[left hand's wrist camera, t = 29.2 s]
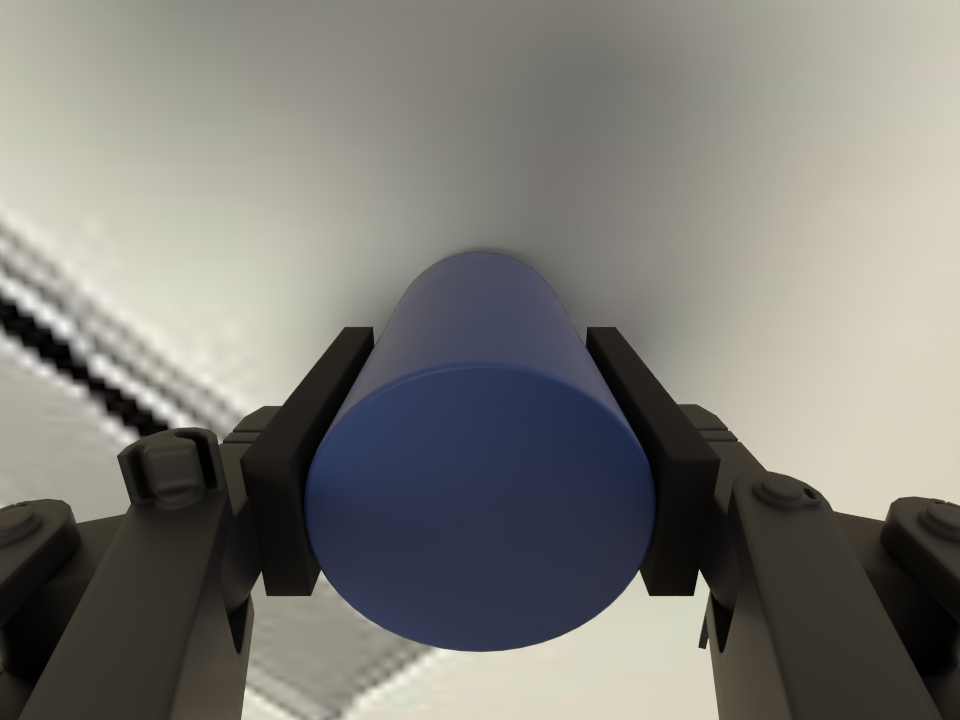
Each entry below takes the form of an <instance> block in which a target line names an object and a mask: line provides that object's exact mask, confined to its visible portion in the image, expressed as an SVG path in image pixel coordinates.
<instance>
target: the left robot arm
mask: <svg viewBox="0 0 960 720" xmlns="http://www.w3.org/2000/svg"><path fill="white" fill-rule="evenodd" d="M373 348H374V335H373V327H345V328H344V329H343V330H342V332H341V333H340V334H339V335H338V337H337V338H336V339H335V340H334V342H333V343H332V344H331V345H330V347H329V348H328V349H327V350H326V352H325V353H324V354H323V355H322V357H321V358H320V359H319V360H318V362H317V363H316V364H315V365H314V367H313V368H312V369H311V370H310V372H309V373H308V374H307V375H306V377H305V378H304V379H303V380H302V382H301V383H300V384H299V385H298V387H297V388H296V389H295V390H294V392H293V393H292V394H291V396H290V397H289V398H288V399H287V401H286V402H285V403H284V404H283V406H263V407H262V408H260V409H258V410H256V411H255V412H253V413H251V414H249V415H247V416H246V417H244V418H243V419H242V421H241V422H240V423H239V424H238V425H237V426H236V427H235V428H234V429H233V433H230V434H229V435H228V436H227V437H226V438H225V439H224V440H223V444H220V445H219V444H218V440H217V435H216V434H214V433H213V432H212V431H210V430H208V429H202V428H197V427H192V428H177V429H172V430H167V431H162V432H158V433H156V434H153V435H150V436H147V437H144V438H142V439H140V440H138V441H136V442H134V443H133V444H131V445H129V446H127V447H126V448H125V449H124V450H123V451H122V452H121V453H120V454H119V455H118V456H117V458H118V461H119V465H120V468H121V471H122V474H123V478H124V481H125V484H126V488H127V491H128V494H129V498H130V501H131V505H130V507H129V509H128V511H127V513H126V514H123V515H118V516H113V517H108V518H103V519H97V520H92V521H87V522H82V523H77V524H76V521H75V518H74V515H73V512H72V510H71V507H70V505H68V504H67V503H65V502H64V501H62V500H54V499H42V500H35V501H25V502H20V503H17V505H14V504H13V505H10V506H7V507H4V508H1V509H0V720H241V715H242V707H243V699H244V691H245V684H246V676H247V668H248V660H249V652H250V644H251V636H252V628H253V621H254V608H253V602H252V598H251V593H250V592H251V590H252V588H253V586H254V584H255V582H256V580H257V578H258V577H259V575H260V573H261V571H262V575H263V580H264V585H265V590H266V595H267V596H311V594H312V592H313V589H314V587H315V584H316V581H317V579H318V576H319V574H320V571H321V568H320V566H319V565H318V563H317V561H316V558H315V556H314V554H313V551H312V549H311V546H310V543H309V539H308V535H307V531H306V527H305V516H304V494H305V485H306V481H307V477H308V472H309V468H310V466H311V463H312V461H313V458H314V456H315V454H316V451H317V449H318V447H319V445H320V443H321V442H322V440H323V438H324V436H325V435H326V433H327V431H328V429H329V427H330V426H331V424H332V422H333V420H334V418H335V417H336V415H337V413H338V411H339V409H340V408H341V406H342V404H343V402H344V400H345V399H346V397H347V395H348V393H349V392H350V390H351V388H352V386H353V384H354V383H355V381H356V379H357V377H358V375H359V374H360V372H361V370H362V368H363V366H364V365H365V363H366V361H367V359H368V357H369V356H370V354H371V352H372V350H373ZM586 348H587V350H588V352H589V354H590V355H591V357H592V359H593V361H594V362H595V364H596V366H597V368H598V370H599V371H600V373H601V375H602V377H603V379H604V380H605V382H606V384H607V386H608V387H609V389H610V391H611V393H612V395H613V396H614V398H615V400H616V402H617V403H618V405H619V407H620V409H621V411H622V412H623V414H624V416H625V418H626V420H627V421H628V423H629V425H630V427H631V428H632V430H633V432H634V434H635V436H636V437H637V439H638V441H639V443H640V445H641V446H642V449H643V451H644V453H645V455H646V458H647V460H648V462H649V464H650V468H651V471H652V475H653V479H654V483H655V491H656V501H657V506H656V521H655V527H654V532H653V536H652V541H651V544H650V547H649V549H648V552H647V554H646V557H645V560H644V561H643V563H642V565H641V567H640V569H639V570H640V573H641V575H642V578H643V580H644V583H645V586H646V588H647V591H648V593H649V596H694V592H695V587H696V582H697V577H698V572H699V569H700V571H701V573H702V575H703V577H704V579H705V581H706V583H707V584H708V586H709V588H710V593H709V598H708V602H707V607H706V612H705V616H704V621H703V626H702V630H701V635H700V641H699V648H703V649H706V645H707V641H708V638H709V643H710V651H711V659H712V666H713V674H714V682H715V690H716V698H717V706H718V713H719V720H960V506H959V505H956V504H953V503H950V502H947V503H946V502H945V501H943V500H938V499H933V498H932V499H929V498H922V497H904V498H899V499H897V500H896V501H894V502H893V503H891V505H890V508H889V511H888V514H887V517H886V519H885V521H880V520H875V519H870V518H865V517H859V516H854V515H849V514H844V513H839V512H835V511H833V510H832V508H831V506H830V504H829V502H828V501H827V500H826V499H825V498H824V497H823V495H822V494H821V493H820V492H819V491H817V490H816V489H814V488H812V487H811V486H809V485H808V484H806V483H804V482H802V481H800V480H797V479H795V478H792V477H790V476H787V475H783V474H779V473H774V472H768V471H767V470H766V469H765V468H764V467H763V466H762V465H761V464H760V463H759V462H758V461H757V460H756V458H755V457H754V456H753V455H752V454H751V453H750V452H749V451H748V450H747V449H746V448H745V446H744V445H743V444H742V443H741V442H738V439H737V438H736V437H735V435H734V434H733V433H732V432H731V431H728V428H727V427H726V426H725V425H724V423H723V422H722V421H721V420H720V419H719V418H718V417H717V416H716V415H714V414H713V413H711V412H709V411H707V410H706V409H704V408H702V407H700V406H699V405H697V404H676V403H675V401H674V400H673V399H672V398H671V396H670V395H669V394H668V393H667V391H666V390H665V389H664V388H663V386H662V385H661V384H660V383H659V381H658V380H657V379H656V378H655V376H654V375H653V374H652V372H651V371H650V370H649V369H648V367H647V366H646V365H645V364H644V362H643V361H642V360H641V359H640V357H639V356H638V355H637V354H636V352H635V351H634V350H633V349H632V347H631V346H630V345H629V344H628V342H627V341H626V340H625V339H624V337H623V336H622V335H621V334H620V332H619V331H618V330H617V329H616V327H587V339H586Z"/></svg>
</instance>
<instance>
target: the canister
mask: <svg viewBox="0 0 960 720" xmlns="http://www.w3.org/2000/svg"><path fill="white" fill-rule="evenodd" d="M656 506H657V501H656V491H655V483H654V479H653V475H652V471H651V468H650V464H649V462H648V460H647V458H646V455H645V453H644V451H643V449H642V446H641V445H640V443H639V441H638V439H637V437H636V436H635V434H634V432H633V430H632V428H631V427H630V425H629V423H628V421H627V420H626V418H625V416H624V414H623V412H622V411H621V409H620V407H619V405H618V403H617V402H616V400H615V398H614V396H613V395H612V393H611V391H610V389H609V387H608V386H607V384H606V382H605V380H604V379H603V377H602V375H601V373H600V371H599V370H598V368H597V366H596V364H595V362H594V361H593V359H592V357H591V355H590V354H589V352H588V350H587V348H586V346H585V345H584V343H583V341H582V339H581V337H580V336H579V334H578V332H577V330H576V329H575V327H574V325H573V323H572V321H571V320H570V318H569V316H568V314H567V312H566V311H565V309H564V307H563V305H562V304H561V302H560V300H559V298H558V297H557V295H556V293H555V292H554V290H553V289H552V287H551V286H550V285H549V284H548V283H547V281H546V280H545V279H544V278H543V277H542V276H541V275H539V274H538V273H537V272H536V271H535V270H533V269H532V268H530V267H529V266H527V265H526V264H524V263H522V262H520V261H518V260H516V259H513V258H510V257H507V256H504V255H499V254H494V253H483V252H477V253H466V254H461V255H456V256H453V257H450V258H447V259H444V260H442V261H440V262H438V263H436V264H434V265H433V266H431V267H430V268H428V269H427V270H425V271H424V272H423V273H422V274H421V275H419V276H418V277H417V278H416V279H415V280H414V281H413V283H412V284H411V285H410V286H409V287H408V289H407V290H406V292H405V293H404V295H403V297H402V298H401V300H400V302H399V304H398V305H397V307H396V309H395V311H394V313H393V314H392V316H391V318H390V320H389V322H388V323H387V325H386V327H385V329H384V331H383V332H382V334H381V336H380V338H379V340H378V341H377V343H376V345H375V347H374V348H373V350H372V352H371V354H370V356H369V357H368V359H367V361H366V363H365V365H364V366H363V368H362V370H361V372H360V374H359V375H358V377H357V379H356V381H355V383H354V384H353V386H352V388H351V390H350V392H349V393H348V395H347V397H346V399H345V400H344V402H343V404H342V406H341V408H340V409H339V411H338V413H337V415H336V417H335V418H334V420H333V422H332V424H331V426H330V427H329V429H328V431H327V433H326V435H325V436H324V438H323V440H322V442H321V443H320V445H319V447H318V449H317V451H316V454H315V456H314V458H313V461H312V463H311V466H310V468H309V472H308V477H307V481H306V485H305V494H304V516H305V527H306V531H307V535H308V539H309V543H310V546H311V549H312V551H313V554H314V556H315V558H316V561H317V563H318V565H319V566H320V568H321V570H322V572H323V573H324V575H325V577H326V578H327V580H328V581H329V582H330V583H331V585H332V586H333V587H334V588H335V590H336V591H337V592H338V593H339V594H340V595H341V596H342V597H343V598H344V599H345V600H346V601H347V602H348V603H349V604H350V605H351V606H352V607H353V608H354V609H356V610H357V611H358V612H360V613H361V614H362V615H363V616H365V617H366V618H367V619H369V620H371V621H372V622H374V623H376V624H377V625H379V626H381V627H382V628H384V629H386V630H388V631H390V632H392V633H395V634H397V635H399V636H401V637H403V638H406V639H409V640H412V641H415V642H418V643H421V644H425V645H429V646H433V647H438V648H442V649H450V650H457V651H472V652H489V651H504V650H511V649H517V648H523V647H527V646H531V645H535V644H539V643H543V642H545V641H548V640H551V639H554V638H556V637H559V636H562V635H564V634H566V633H568V632H570V631H572V630H574V629H576V628H578V627H580V626H581V625H583V624H585V623H586V622H588V621H589V620H591V619H593V618H594V617H596V616H597V615H598V614H599V613H601V612H602V611H603V610H605V609H606V608H607V607H608V606H610V605H611V604H612V603H613V602H614V601H615V600H616V599H617V598H618V597H619V596H620V595H621V594H622V593H623V592H624V590H625V589H626V588H627V586H628V585H629V584H630V582H631V581H632V580H633V578H634V577H635V576H636V574H637V572H638V570H639V569H640V567H641V565H642V563H643V561H644V560H645V557H646V554H647V552H648V549H649V547H650V544H651V541H652V536H653V532H654V527H655V521H656Z"/></svg>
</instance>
